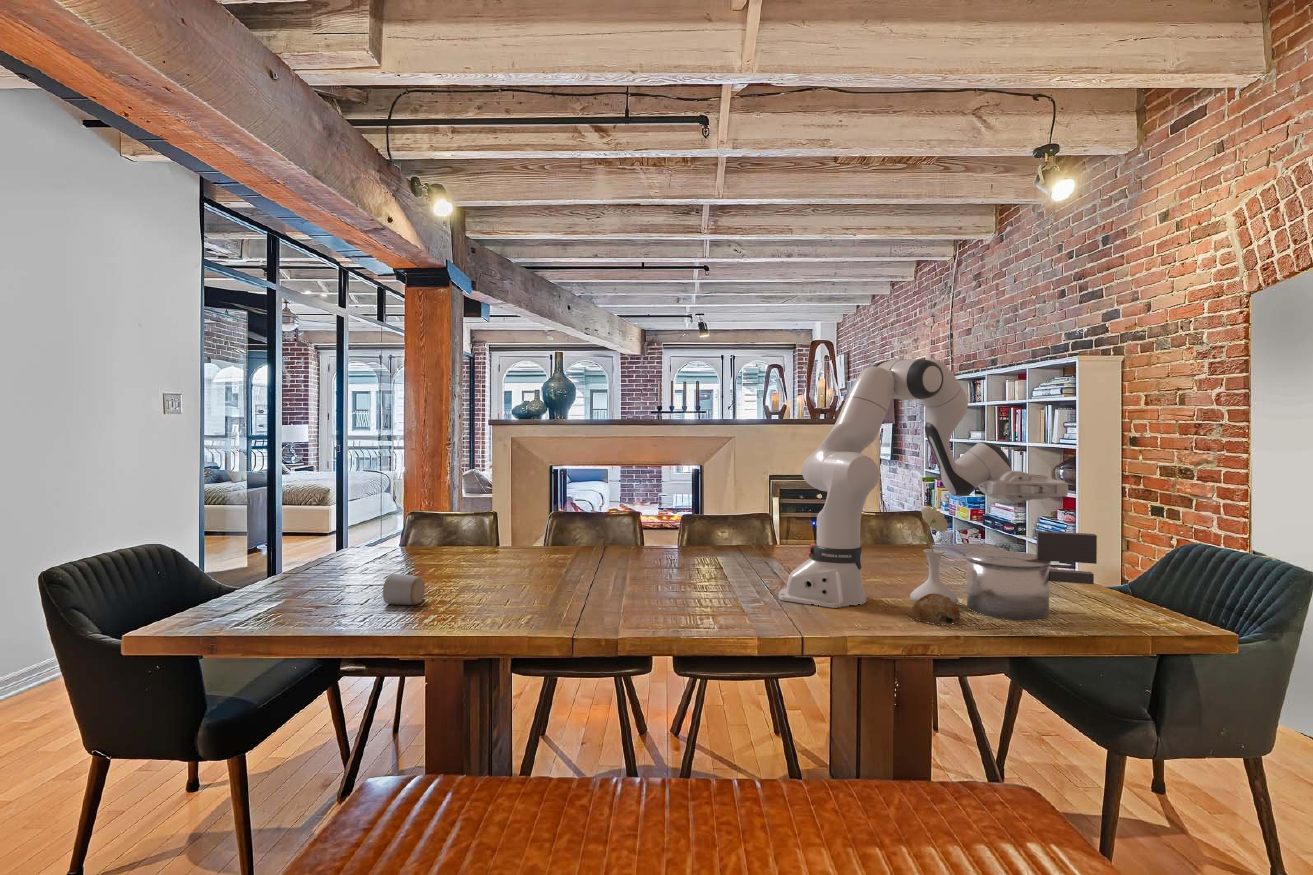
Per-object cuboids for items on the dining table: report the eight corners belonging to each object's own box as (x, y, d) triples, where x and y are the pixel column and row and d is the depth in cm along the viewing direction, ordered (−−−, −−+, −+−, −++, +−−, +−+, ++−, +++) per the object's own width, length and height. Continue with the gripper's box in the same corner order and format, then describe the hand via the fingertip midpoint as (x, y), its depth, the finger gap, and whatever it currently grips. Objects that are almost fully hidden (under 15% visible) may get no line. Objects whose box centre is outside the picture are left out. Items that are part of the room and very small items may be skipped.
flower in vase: (966, 610, 166) (966, 509, 165) (919, 610, 166) (919, 509, 166) (944, 597, 179) (944, 504, 178) (901, 597, 179) (901, 503, 179)
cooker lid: (966, 564, 161) (966, 532, 161) (965, 551, 178) (965, 523, 178) (1103, 574, 150) (1103, 540, 150) (1088, 560, 167) (1088, 529, 167)
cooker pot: (968, 615, 161) (969, 565, 161) (964, 598, 178) (965, 553, 178) (1101, 628, 151) (1101, 574, 151) (1083, 608, 168) (1084, 560, 167)
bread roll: (925, 641, 153) (935, 613, 150) (900, 611, 162) (909, 584, 159) (962, 637, 156) (972, 610, 153) (935, 608, 165) (944, 582, 162)
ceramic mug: (412, 608, 167) (413, 577, 167) (381, 607, 168) (382, 576, 168) (431, 598, 177) (432, 569, 177) (402, 597, 178) (402, 568, 178)
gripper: (977, 474, 190) (1000, 477, 176) (1051, 475, 189) (1080, 479, 175) (977, 496, 190) (1000, 501, 176) (1050, 498, 189) (1079, 503, 175)
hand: (1040, 490), depth 176 cm, fingers closed
